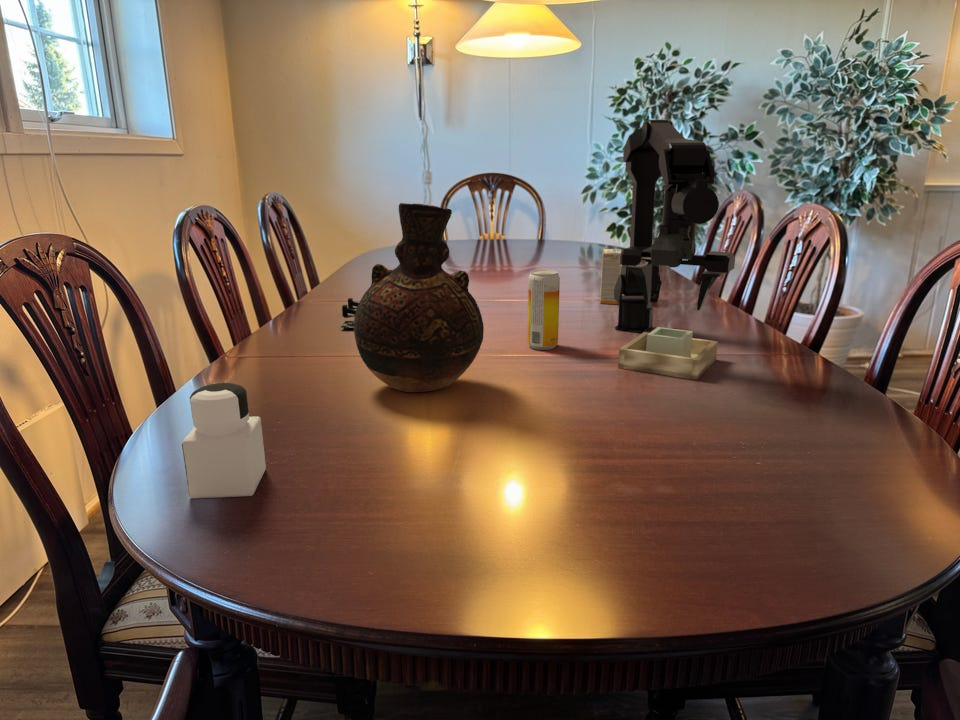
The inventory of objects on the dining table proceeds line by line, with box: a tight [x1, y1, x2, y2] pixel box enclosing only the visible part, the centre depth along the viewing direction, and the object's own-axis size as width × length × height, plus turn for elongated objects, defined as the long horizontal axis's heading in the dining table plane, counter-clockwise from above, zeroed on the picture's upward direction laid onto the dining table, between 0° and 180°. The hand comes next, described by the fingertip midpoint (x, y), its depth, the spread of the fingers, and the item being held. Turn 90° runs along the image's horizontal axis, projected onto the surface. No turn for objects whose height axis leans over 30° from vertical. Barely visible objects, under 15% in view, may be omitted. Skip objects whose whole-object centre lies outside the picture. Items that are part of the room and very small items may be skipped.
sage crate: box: [646, 326, 694, 358], centre depth 124 cm, size 6×6×5 cm
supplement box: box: [599, 248, 622, 305], centre depth 176 cm, size 8×5×13 cm, turn 168°
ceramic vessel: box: [353, 202, 484, 393], centre depth 110 cm, size 21×18×30 cm
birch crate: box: [617, 331, 719, 381], centre depth 125 cm, size 14×14×4 cm
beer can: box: [527, 269, 561, 351], centre depth 135 cm, size 6×6×15 cm
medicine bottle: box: [181, 382, 267, 499], centre depth 79 cm, size 7×7×12 cm
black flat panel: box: [340, 297, 359, 329], centre depth 164 cm, size 30×3×15 cm
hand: (672, 307), depth 122 cm, fingers open, 9 cm apart
